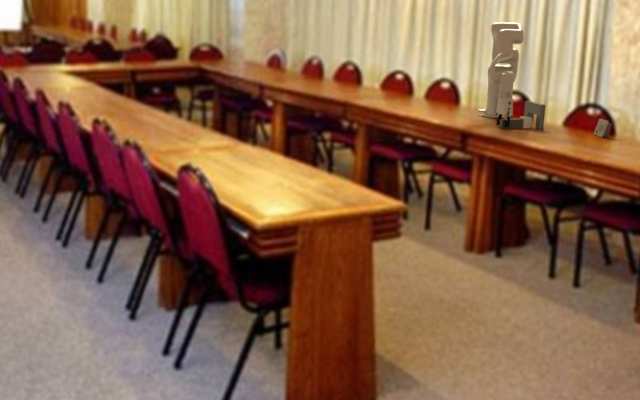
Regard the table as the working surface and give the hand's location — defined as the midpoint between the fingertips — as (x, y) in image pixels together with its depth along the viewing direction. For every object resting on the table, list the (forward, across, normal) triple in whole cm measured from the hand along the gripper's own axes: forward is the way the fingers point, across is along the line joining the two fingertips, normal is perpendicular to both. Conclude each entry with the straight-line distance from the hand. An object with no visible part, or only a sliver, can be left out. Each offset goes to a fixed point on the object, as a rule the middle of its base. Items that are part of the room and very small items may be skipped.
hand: (503, 125), depth 492 cm
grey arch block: (+1, 0, -20) cm, 20 cm away
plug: (+1, 0, -8) cm, 8 cm away
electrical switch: (+2, -33, -43) cm, 54 cm away
